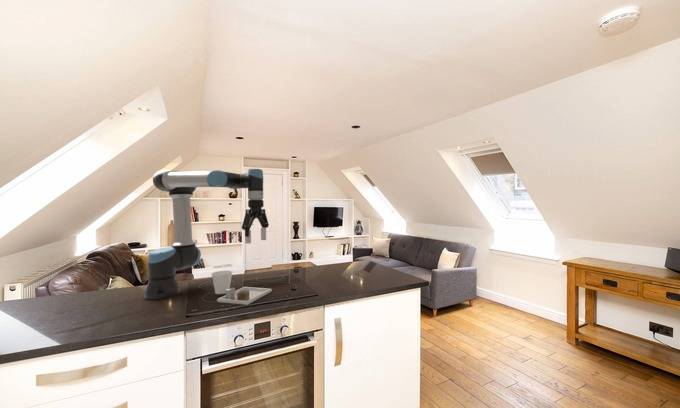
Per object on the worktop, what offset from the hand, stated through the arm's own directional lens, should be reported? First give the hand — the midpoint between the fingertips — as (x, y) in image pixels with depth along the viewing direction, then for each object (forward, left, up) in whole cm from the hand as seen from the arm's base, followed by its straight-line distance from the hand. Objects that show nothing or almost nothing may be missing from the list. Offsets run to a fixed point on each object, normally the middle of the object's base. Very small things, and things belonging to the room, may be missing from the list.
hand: (256, 241), depth 143 cm
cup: (-17, -5, -27) cm, 32 cm away
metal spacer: (-5, -14, -25) cm, 29 cm away
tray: (-1, -8, -26) cm, 28 cm away
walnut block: (+2, -14, -25) cm, 29 cm away
